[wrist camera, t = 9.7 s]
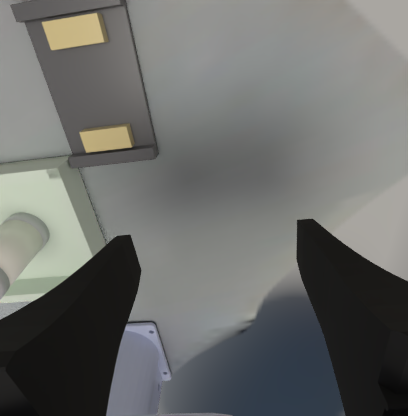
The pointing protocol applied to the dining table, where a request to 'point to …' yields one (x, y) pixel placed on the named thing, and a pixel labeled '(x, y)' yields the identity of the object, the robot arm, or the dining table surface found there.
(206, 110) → the dining table surface
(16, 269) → the fuse
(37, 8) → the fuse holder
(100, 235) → the tray
